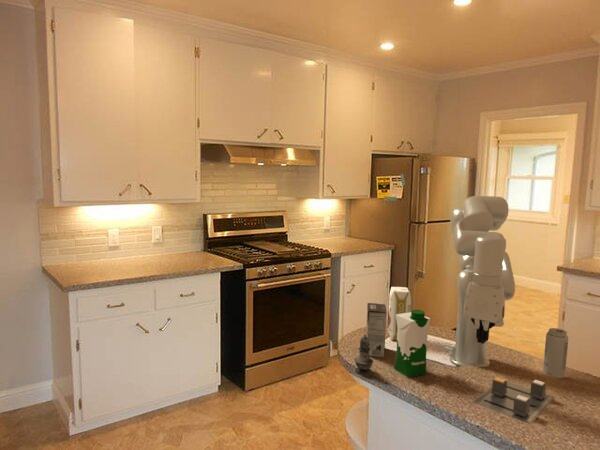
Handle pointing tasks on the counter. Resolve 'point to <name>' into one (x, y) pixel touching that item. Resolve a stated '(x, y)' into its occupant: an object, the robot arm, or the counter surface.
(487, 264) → the robot arm
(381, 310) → the coffee box
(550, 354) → the energy drink can
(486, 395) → the panel
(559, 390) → the counter surface
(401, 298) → the juice carton
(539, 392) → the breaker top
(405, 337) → the milk carton
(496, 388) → the block
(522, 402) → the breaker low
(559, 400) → the counter surface
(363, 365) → the grey ornate incense burner
